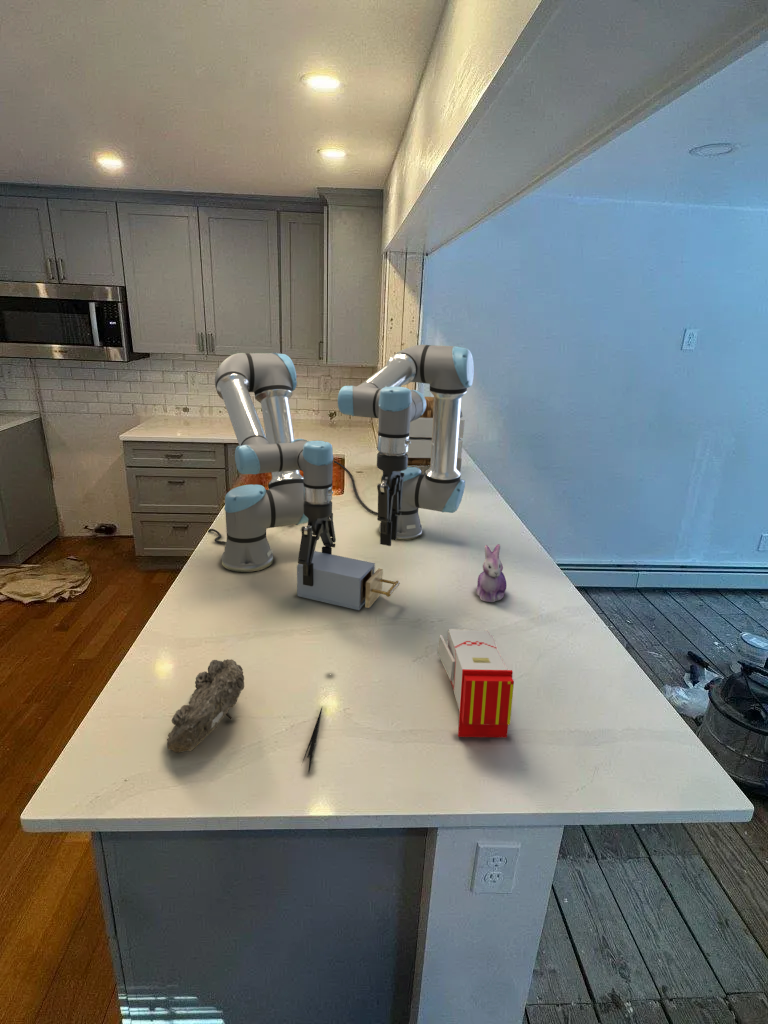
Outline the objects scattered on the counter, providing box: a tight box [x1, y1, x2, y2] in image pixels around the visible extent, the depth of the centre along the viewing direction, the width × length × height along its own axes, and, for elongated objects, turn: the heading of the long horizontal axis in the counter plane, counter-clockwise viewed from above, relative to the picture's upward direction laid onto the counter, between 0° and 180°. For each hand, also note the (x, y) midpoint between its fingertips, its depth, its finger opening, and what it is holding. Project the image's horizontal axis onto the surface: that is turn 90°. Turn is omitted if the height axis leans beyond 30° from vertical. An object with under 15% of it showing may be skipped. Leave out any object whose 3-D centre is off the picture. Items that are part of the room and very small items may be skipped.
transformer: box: [407, 396, 465, 475], centre depth 268 cm, size 34×33×41 cm
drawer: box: [361, 568, 401, 609], centre depth 152 cm, size 22×9×7 cm, turn 69°
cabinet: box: [296, 550, 376, 611], centre depth 154 cm, size 18×10×9 cm, turn 69°
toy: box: [437, 628, 515, 738], centre depth 117 cm, size 12×13×30 cm
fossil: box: [166, 658, 245, 754], centre depth 106 cm, size 22×10×15 cm
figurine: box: [476, 544, 507, 603], centre depth 157 cm, size 9×10×15 cm
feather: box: [301, 673, 332, 771], centre depth 108 cm, size 2×28×2 cm
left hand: (317, 576), depth 156 cm, fingers closed on cabinet, 10 cm apart
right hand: (388, 541), depth 145 cm, fingers open, 3 cm apart
